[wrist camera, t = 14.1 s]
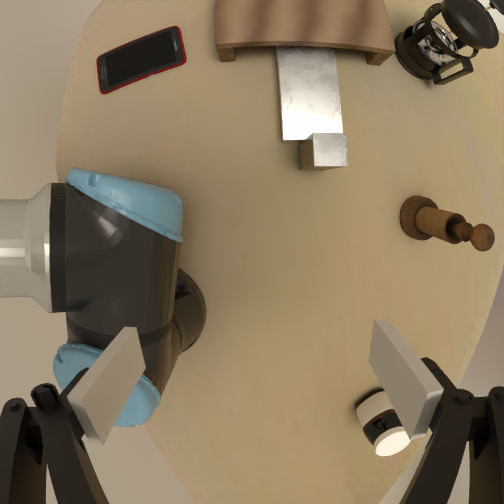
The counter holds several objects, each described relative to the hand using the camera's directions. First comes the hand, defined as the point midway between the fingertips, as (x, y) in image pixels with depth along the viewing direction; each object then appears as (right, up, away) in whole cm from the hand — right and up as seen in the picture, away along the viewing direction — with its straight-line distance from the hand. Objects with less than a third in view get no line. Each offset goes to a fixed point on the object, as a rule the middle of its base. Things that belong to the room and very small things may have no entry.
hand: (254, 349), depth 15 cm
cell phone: (-18, +35, +22) cm, 45 cm away
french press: (+27, +37, +20) cm, 50 cm away
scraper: (+8, +26, +23) cm, 36 cm away
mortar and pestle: (+26, +11, +26) cm, 38 cm away
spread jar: (+26, -24, +35) cm, 50 cm away
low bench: (+7, +39, +20) cm, 44 cm away
